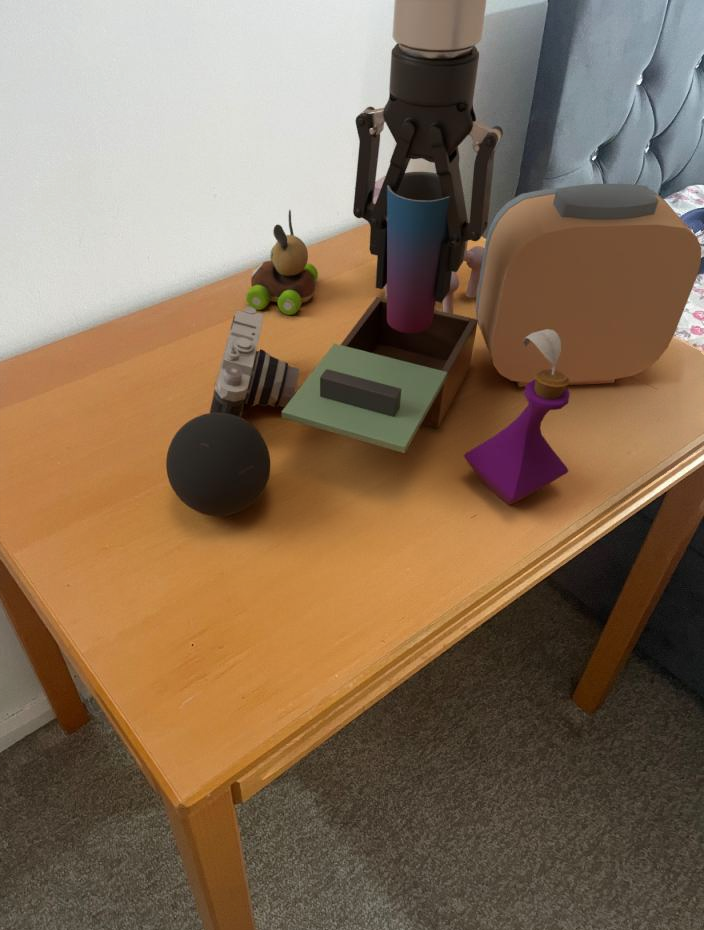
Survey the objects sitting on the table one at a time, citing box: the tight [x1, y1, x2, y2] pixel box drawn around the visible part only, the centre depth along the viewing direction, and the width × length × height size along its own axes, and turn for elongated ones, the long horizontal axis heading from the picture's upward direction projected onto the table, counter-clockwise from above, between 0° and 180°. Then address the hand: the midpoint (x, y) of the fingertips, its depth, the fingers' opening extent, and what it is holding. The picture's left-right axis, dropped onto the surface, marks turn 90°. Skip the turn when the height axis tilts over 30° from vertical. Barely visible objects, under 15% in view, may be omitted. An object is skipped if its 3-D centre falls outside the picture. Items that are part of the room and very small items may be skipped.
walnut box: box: [340, 296, 478, 429], centre depth 88 cm, size 13×13×7 cm
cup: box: [386, 171, 450, 333], centre depth 78 cm, size 7×7×15 cm
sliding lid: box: [281, 343, 447, 454], centre depth 76 cm, size 13×13×3 cm
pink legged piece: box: [373, 175, 485, 314], centre depth 100 cm, size 20×11×14 cm, turn 48°
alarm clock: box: [475, 183, 702, 388], centre depth 85 cm, size 21×10×22 cm, turn 94°
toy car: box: [245, 209, 319, 316], centre depth 100 cm, size 9×9×11 cm
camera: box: [209, 305, 300, 418], centre depth 84 cm, size 16×9×10 cm, turn 176°
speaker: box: [165, 412, 271, 517], centre depth 73 cm, size 10×10×10 cm
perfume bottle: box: [463, 329, 571, 506], centre depth 71 cm, size 8×8×18 cm
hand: (412, 288), depth 81 cm, fingers closed on cup, 6 cm apart
